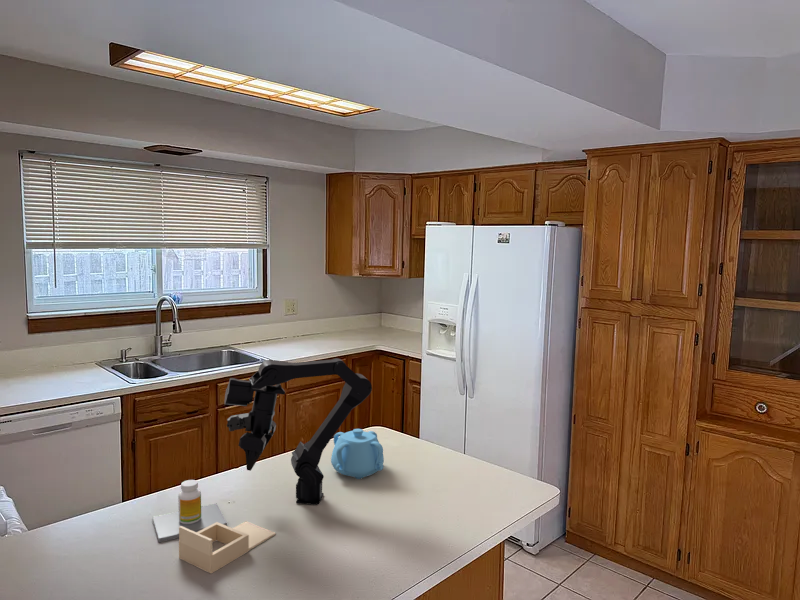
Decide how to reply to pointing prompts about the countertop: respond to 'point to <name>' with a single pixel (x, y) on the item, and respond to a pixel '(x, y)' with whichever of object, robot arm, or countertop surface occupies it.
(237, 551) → the carton
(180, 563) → the countertop surface
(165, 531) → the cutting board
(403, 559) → the countertop surface
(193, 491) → the supplement bottle
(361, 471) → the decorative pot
